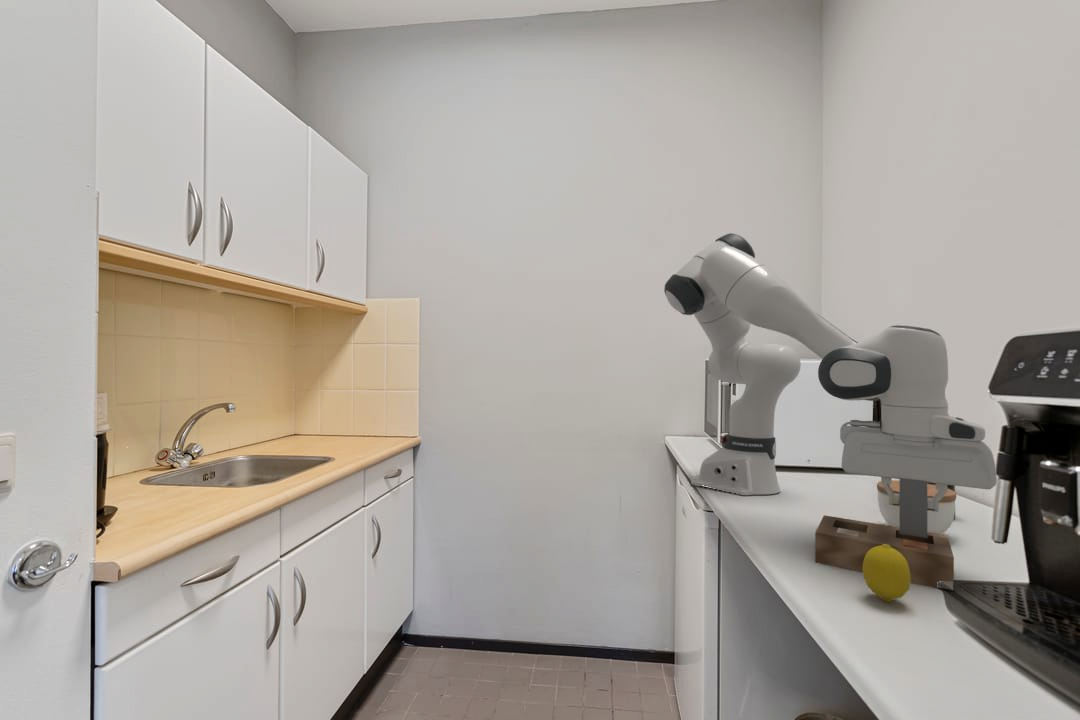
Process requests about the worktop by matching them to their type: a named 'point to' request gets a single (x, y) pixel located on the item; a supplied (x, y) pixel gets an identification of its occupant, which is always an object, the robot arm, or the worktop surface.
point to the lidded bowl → (935, 520)
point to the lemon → (886, 572)
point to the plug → (913, 507)
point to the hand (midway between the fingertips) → (913, 507)
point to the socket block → (854, 539)
